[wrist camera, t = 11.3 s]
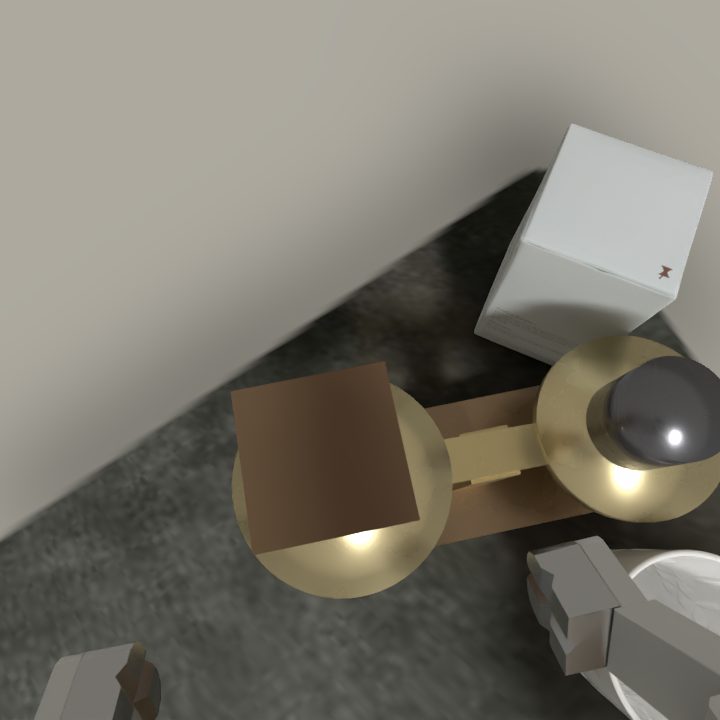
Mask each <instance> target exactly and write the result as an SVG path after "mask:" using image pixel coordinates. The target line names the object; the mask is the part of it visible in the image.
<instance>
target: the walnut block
mask: <svg viewBox="0 0 720 720" xmlns="http://www.w3.org/2000/svg"><path fill="white" fill-rule="evenodd" d="M231 397H232V404H233V412H234V419H235V427H236V434H237V442H238V449H239V457H240V464H241V472H242V479H243V487H244V494H245V502H246V509H247V516H248V524H249V531H250V539H251V546H252V554H253V555H257V554H262V553H267V552H272V551H276V550H281V549H286V548H291V547H295V546H300V545H305V544H310V543H314V542H319V541H324V540H329V539H333V538H338V537H343V536H348V535H352V534H357V533H362V532H366V531H371V530H376V529H381V528H385V527H390V526H395V525H400V524H404V523H409V522H414V521H419V520H420V517H419V512H418V508H417V504H416V499H415V495H414V490H413V486H412V481H411V477H410V472H409V468H408V463H407V459H406V454H405V450H404V445H403V441H402V436H401V432H400V428H399V423H398V419H397V414H396V410H395V405H394V401H393V396H392V392H391V387H390V383H389V378H388V374H387V369H386V365H385V361H382V362H377V363H372V364H367V365H362V366H357V367H352V368H347V369H342V370H337V371H332V372H327V373H322V374H317V375H311V376H306V377H301V378H296V379H291V380H286V381H281V382H276V383H271V384H266V385H261V386H256V387H251V388H246V389H241V390H236V391H231Z"/></svg>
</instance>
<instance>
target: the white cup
mask: <svg viewBox="0 0 720 720" xmlns="http://www.w3.org/2000/svg"><path fill="white" fill-rule="evenodd" d="M611 551H612V553H613V554H614V555H615V557H616V558H617V560H618V561H619V562H620V564H621V565H622V566H623V568H624V569H625V570H626V572H627V573H628V575H629V576H630V577H631V579H632V580H633V581H634V583H635V584H636V586H637V587H638V588H639V590H640V591H641V592H642V594H643V595H644V596H645V598H646V599H647V601H649V600H654V599H655V600H657V601H659V602H660V603H662V604H664V605H666V606H667V607H669V608H671V609H673V610H674V611H676V612H678V613H680V614H682V615H683V616H685V617H687V618H689V619H690V620H692V621H694V622H696V623H697V624H699V625H701V626H703V627H705V628H706V629H708V630H710V631H712V632H713V633H715V634H717V635H719V636H720V556H718V555H715V554H712V553H708V552H704V551H698V550H670V549H611ZM580 674H581V675H582V676H583V677H585V678H586V679H587V680H588V681H589V683H590V684H591V685H592V686H594V687H595V688H596V689H597V690H598V691H599V692H600V693H601V694H602V695H603V696H604V697H605V698H607V699H608V700H609V701H610V702H611V703H612V704H613V705H614V706H615V707H617V708H618V709H619V710H620V711H621V712H622V713H623V714H624V715H626V716H627V717H628V718H629V719H630V720H668V719H667V718H666V717H665V716H663V715H662V714H661V713H660V712H658V711H657V710H656V709H655V708H653V707H652V706H651V705H650V704H649V703H647V702H646V701H645V700H644V699H642V698H641V697H640V696H639V695H637V694H636V693H635V692H634V691H633V690H631V689H630V688H629V687H628V686H626V685H625V684H624V683H623V682H621V681H620V680H619V679H618V678H617V677H615V676H614V675H613V674H612V673H610V672H609V671H608V670H607V667H605V668H600V669H595V670H591V671H586V672H581V673H580Z"/></svg>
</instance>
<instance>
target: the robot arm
mask: <svg viewBox="0 0 720 720" xmlns="http://www.w3.org/2000/svg"><path fill="white" fill-rule="evenodd" d="M527 565H528V567H529V569H530V571H531V573H530V575H529V576H528V577H527V590H528V595H529V599H530V603H531V605H532V608H533V611H534V613H535V615H536V617H537V620H538V622H539V624H540V625H542V626H543V627H545V628H546V629H548V630H549V631H550V646H551V648H552V650H553V652H554V654H555V656H556V658H557V660H558V662H559V664H560V666H561V668H562V670H563V672H564V674H565V676H567V675H572V674H576V673H581V672H586V671H591V670H595V669H600V668H605V667H607V670H608V671H609V672H610V673H612V674H613V675H614V676H615V677H617V678H618V679H619V680H620V681H621V682H623V683H624V684H625V685H626V686H628V687H629V688H630V689H631V690H633V691H634V692H635V693H636V694H637V695H639V696H640V697H641V698H642V699H644V700H645V701H646V702H647V703H649V704H650V705H651V706H652V707H653V708H655V709H656V710H657V711H658V712H660V713H661V714H662V715H663V716H665V717H666V718H667V719H668V720H720V636H719V635H717V634H715V633H713V632H712V631H710V630H708V629H706V628H705V627H703V626H701V625H699V624H697V623H696V622H694V621H692V620H690V619H689V618H687V617H685V616H683V615H682V614H680V613H678V612H676V611H674V610H673V609H671V608H669V607H667V606H666V605H664V604H662V603H660V602H659V601H657V600H655V599H654V600H649V601H647V599H646V598H645V596H644V595H643V594H642V592H641V591H640V590H639V588H638V587H637V586H636V584H635V583H634V581H633V580H632V579H631V577H630V576H629V575H628V573H627V572H626V570H625V569H624V568H623V566H622V565H621V564H620V562H619V561H618V560H617V558H616V557H615V555H614V554H613V553H612V551H611V550H610V549H609V547H608V546H607V544H606V543H605V542H604V540H603V539H602V538H600V537H599V536H593V537H589V538H585V539H581V540H577V541H574V542H573V541H570V542H566V543H561V544H557V545H553V546H549V547H545V548H541V549H537V550H533V551H529V552H528V554H527ZM145 655H146V650H145V648H144V646H143V645H142V643H141V642H140V641H139V642H134V643H129V644H124V645H119V646H114V647H110V648H105V649H100V650H95V651H90V652H85V653H80V654H76V655H71V656H67V657H62V658H60V660H59V661H58V662H57V664H56V665H55V666H54V668H53V671H52V673H51V676H50V678H49V681H48V684H47V686H46V689H45V692H44V694H43V697H42V699H41V702H40V705H39V707H38V710H37V713H36V715H35V718H34V720H155V718H156V717H157V715H158V713H159V707H160V701H161V682H160V678H159V674H158V671H157V669H156V667H155V665H154V664H152V663H150V662H148V661H145Z"/></svg>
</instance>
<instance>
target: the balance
mask: <svg viewBox="0 0 720 720" xmlns="http://www.w3.org/2000/svg"><path fill="white" fill-rule="evenodd" d="M390 387H391V392H392V396H393V401H394V405H395V410H396V414H397V419H398V423H399V428H400V432H401V436H402V441H403V445H404V450H405V454H406V459H407V463H408V468H409V472H410V477H411V481H412V486H413V490H414V495H415V499H416V504H417V508H418V512H419V517H420V520H419V521H414V522H409V523H404V524H400V525H395V526H390V527H385V528H381V529H376V530H371V531H366V532H362V533H357V534H352V535H348V536H343V537H338V538H333V539H329V540H324V541H319V542H314V543H310V544H305V545H300V546H295V547H291V548H286V549H281V550H276V551H272V552H267V553H262V554H257V555H255V556H256V557H257V559H258V560H259V561H260V562H261V563H262V564H263V565H264V566H265V568H267V569H268V570H269V571H270V572H271V573H272V574H274V575H275V576H276V577H277V578H279V579H280V580H282V581H283V582H285V583H287V584H288V585H290V586H292V587H294V588H296V589H299V590H301V591H303V592H306V593H309V594H313V595H316V596H321V597H328V598H354V597H361V596H366V595H370V594H373V593H376V592H380V591H382V590H384V589H386V588H388V587H391V586H393V585H394V584H396V583H398V582H399V581H401V580H402V579H404V578H405V577H407V576H408V575H409V574H410V573H412V572H413V571H414V570H415V569H416V568H417V567H418V566H419V565H420V564H421V563H422V562H423V561H424V560H425V559H426V558H427V556H428V555H429V554H430V552H431V551H432V549H433V548H434V546H438V545H442V544H447V543H452V542H456V541H461V540H466V539H470V538H475V537H480V536H484V535H489V534H494V533H498V532H503V531H508V530H512V529H517V528H522V527H527V526H531V525H536V524H541V523H545V522H550V521H555V520H559V519H564V518H569V517H573V516H578V515H583V514H587V513H592V512H595V513H598V514H600V515H603V516H605V517H608V518H612V519H616V520H619V521H627V522H660V521H667V520H670V519H674V518H677V517H680V516H682V515H684V514H686V513H688V512H690V511H692V510H693V509H695V508H696V507H698V506H699V505H700V504H702V503H703V502H704V501H705V500H706V499H707V498H708V497H709V496H710V495H711V493H712V492H713V491H714V490H715V488H716V487H717V485H718V483H719V481H720V379H719V378H718V377H717V376H716V375H715V374H714V373H713V372H712V371H711V370H710V369H708V368H707V367H705V366H704V365H702V364H700V363H698V362H696V361H694V360H691V359H688V358H685V357H683V356H682V355H680V354H678V353H677V352H675V351H674V350H672V349H670V348H668V347H666V346H664V345H662V344H660V343H657V342H654V341H651V340H648V339H644V338H640V337H634V336H607V337H600V338H597V339H593V340H590V341H587V342H585V343H583V344H580V345H579V346H577V347H575V348H574V349H572V350H570V351H569V352H568V353H567V354H565V355H564V356H563V357H562V358H561V359H559V360H558V361H557V362H556V363H555V364H554V365H553V366H552V367H551V368H550V370H549V371H548V372H547V374H546V375H545V377H544V378H543V380H542V382H541V384H540V385H539V386H534V387H529V388H524V389H519V390H514V391H509V392H504V393H499V394H494V395H489V396H484V397H479V398H475V399H470V400H465V401H460V402H455V403H450V404H445V405H440V406H435V407H430V408H425V409H424V408H423V407H422V406H421V405H420V404H419V403H418V402H417V401H416V400H415V399H414V398H413V397H411V396H410V395H409V394H407V393H406V392H404V391H403V390H402V389H400V388H398V387H396V386H395V385H393V384H391V383H390ZM232 496H233V505H234V510H235V515H236V518H237V521H238V524H239V527H240V530H241V532H242V534H243V536H244V538H245V540H246V543H247V544H248V546H249V547H250V549H251V550H252V546H251V539H250V531H249V524H248V516H247V509H246V502H245V494H244V487H243V479H242V472H241V464H240V457H239V449H238V452H237V455H236V458H235V463H234V469H233V478H232Z"/></svg>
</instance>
